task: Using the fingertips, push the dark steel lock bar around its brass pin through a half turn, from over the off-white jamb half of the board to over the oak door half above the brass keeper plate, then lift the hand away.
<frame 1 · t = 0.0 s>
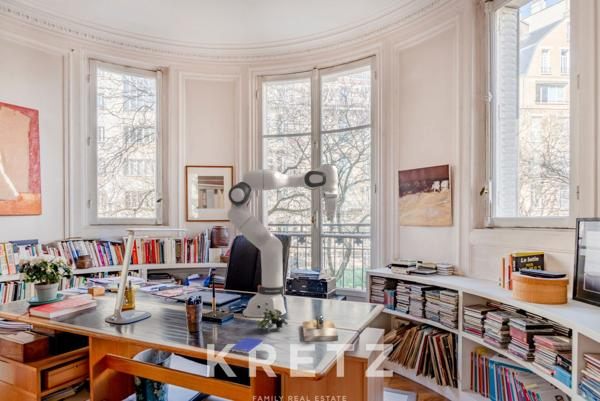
hand: (329, 220, 200), 48 cm above the table, tool pointing down, fingers open, 8 cm apart
door board: (319, 332, 165), on the table
hard drive: (246, 348, 150), on the table
lock bar: (320, 318, 161), point 7 cm above the table, hinge at 0.0°
green leafy plant: (271, 331, 169), on the table
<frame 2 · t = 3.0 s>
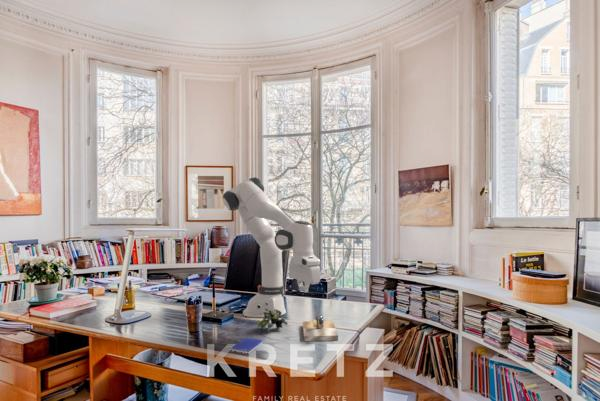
hand: (303, 291, 162), 19 cm above the table, tool pointing down, fingers closed
nothing on the table moved.
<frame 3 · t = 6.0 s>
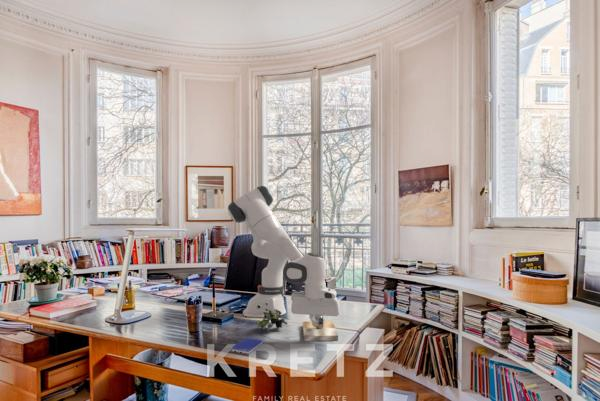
hand: (315, 325, 158), 6 cm above the table, tool pointing down, fingers closed
lock bar: (320, 318, 161), point 7 cm above the table, hinge at 0.1°, touching gripper
everything else where it was.
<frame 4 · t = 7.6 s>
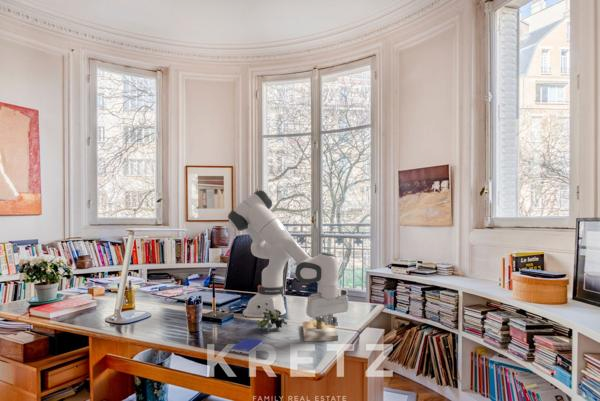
hand: (327, 325, 158), 6 cm above the table, tool pointing down, fingers closed
lock bar: (326, 318, 162), point 7 cm above the table, hinge at 33.5°, touching gripper
everything else where it was.
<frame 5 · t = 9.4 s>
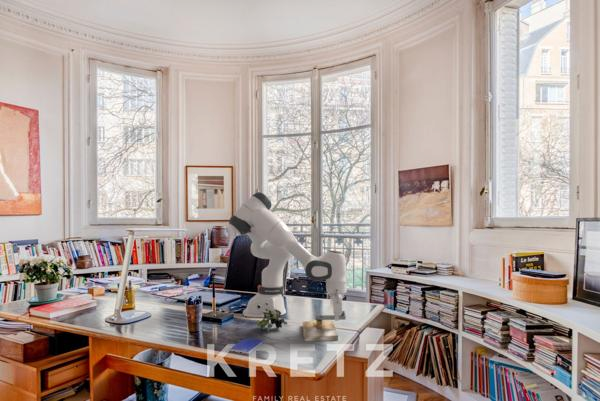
hand: (336, 320, 164), 6 cm above the table, tool pointing down, fingers closed
lock bar: (330, 315, 166), point 7 cm above the table, hinge at 90.3°, touching gripper
everything else where it was.
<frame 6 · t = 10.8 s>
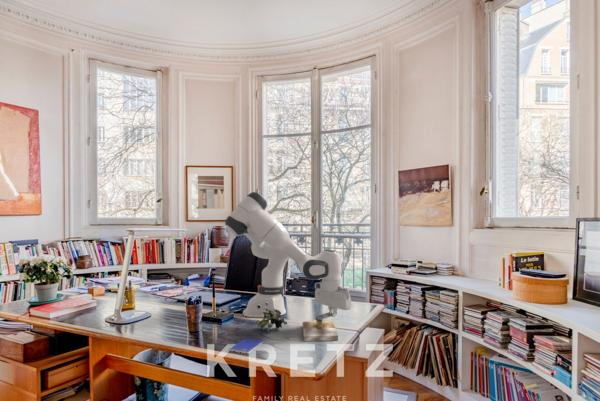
hand: (333, 316, 170), 6 cm above the table, tool pointing down, fingers closed
lock bar: (326, 313, 169), point 7 cm above the table, hinge at 134.8°, touching gripper
everything else where it was.
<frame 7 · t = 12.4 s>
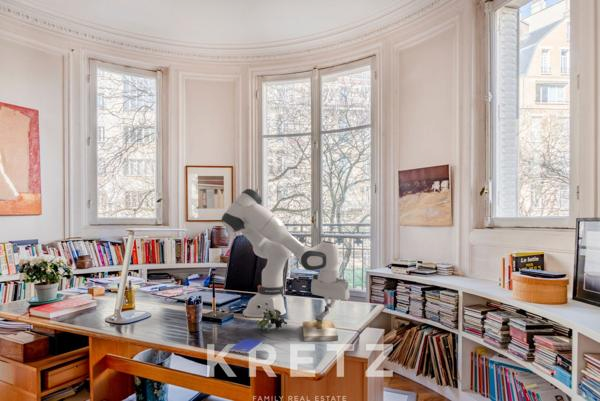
hand: (330, 307, 172), 9 cm above the table, tool pointing down, fingers closed
lock bar: (322, 312, 170), point 7 cm above the table, hinge at 156.1°
everything else where it was.
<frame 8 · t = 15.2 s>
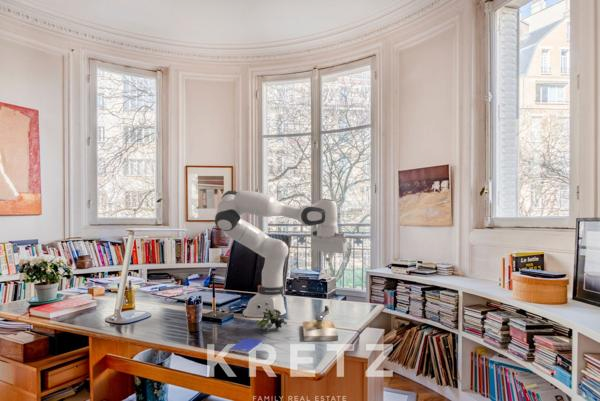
hand: (328, 261, 181), 29 cm above the table, tool pointing down, fingers closed
nothing on the table moved.
at the end: lock bar at +156° (first picture: +0°); the gripper is holding nothing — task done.
